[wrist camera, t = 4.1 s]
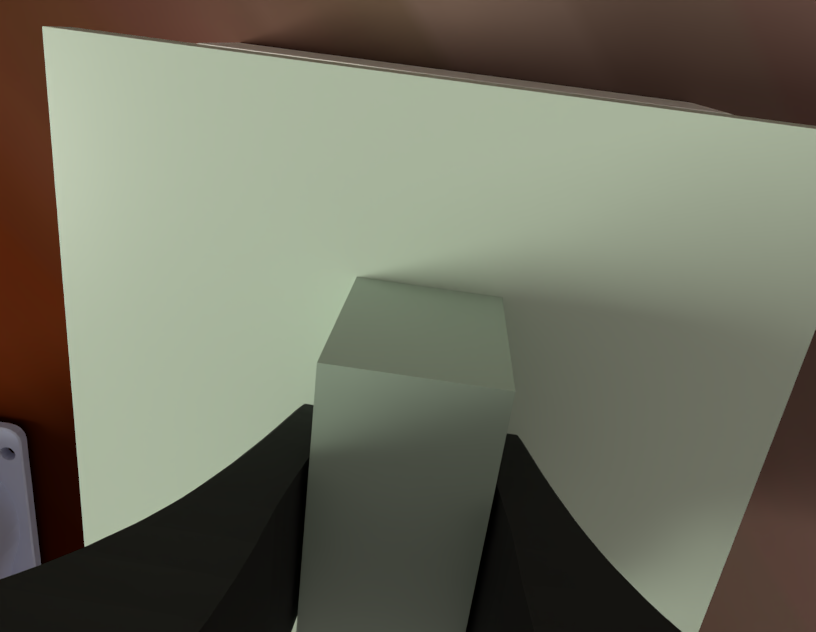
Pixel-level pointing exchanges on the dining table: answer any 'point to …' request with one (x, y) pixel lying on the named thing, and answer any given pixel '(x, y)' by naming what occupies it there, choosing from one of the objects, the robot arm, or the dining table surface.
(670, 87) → the dining table surface
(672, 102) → the box
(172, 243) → the lid
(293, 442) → the robot arm
